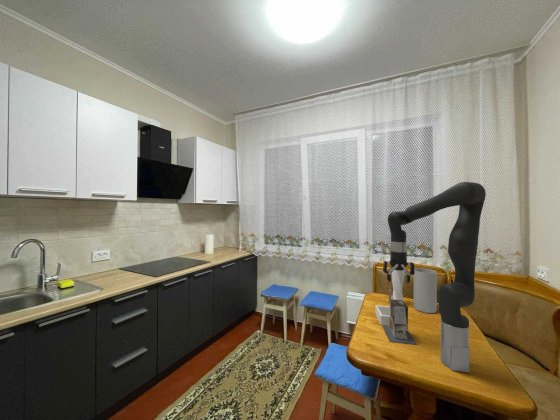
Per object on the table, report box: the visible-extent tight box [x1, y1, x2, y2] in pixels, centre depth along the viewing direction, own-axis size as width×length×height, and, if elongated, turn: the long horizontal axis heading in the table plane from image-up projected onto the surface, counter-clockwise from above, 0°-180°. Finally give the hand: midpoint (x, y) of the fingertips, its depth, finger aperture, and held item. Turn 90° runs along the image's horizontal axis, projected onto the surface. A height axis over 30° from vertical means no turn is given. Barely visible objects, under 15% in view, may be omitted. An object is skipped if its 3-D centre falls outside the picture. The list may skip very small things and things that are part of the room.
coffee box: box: [389, 298, 409, 340], centre depth 115 cm, size 9×6×16 cm
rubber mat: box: [381, 325, 418, 346], centre depth 115 cm, size 15×12×1 cm
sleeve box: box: [374, 304, 390, 326], centre depth 131 cm, size 14×11×5 cm
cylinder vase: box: [413, 267, 438, 314], centre depth 145 cm, size 12×12×25 cm
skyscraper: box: [388, 270, 405, 303], centre depth 153 cm, size 8×8×28 cm
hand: (398, 282), depth 115 cm, fingers open, 8 cm apart
